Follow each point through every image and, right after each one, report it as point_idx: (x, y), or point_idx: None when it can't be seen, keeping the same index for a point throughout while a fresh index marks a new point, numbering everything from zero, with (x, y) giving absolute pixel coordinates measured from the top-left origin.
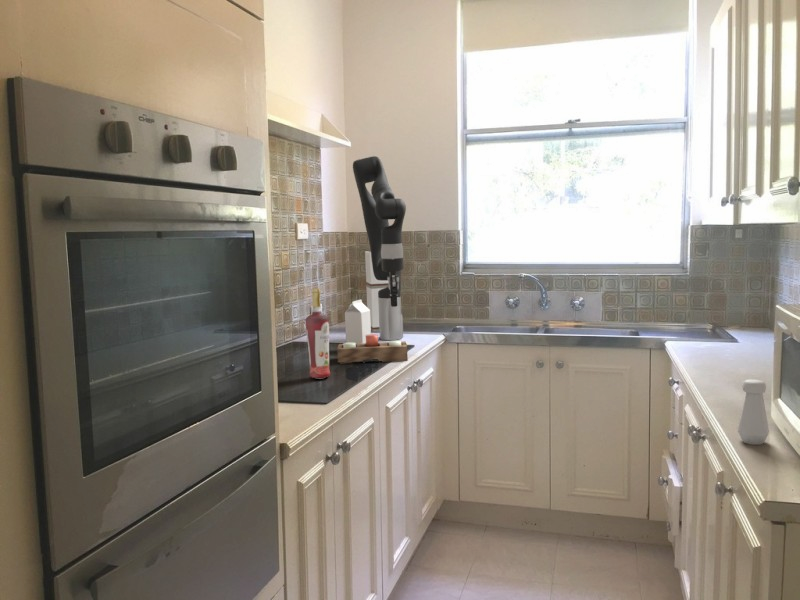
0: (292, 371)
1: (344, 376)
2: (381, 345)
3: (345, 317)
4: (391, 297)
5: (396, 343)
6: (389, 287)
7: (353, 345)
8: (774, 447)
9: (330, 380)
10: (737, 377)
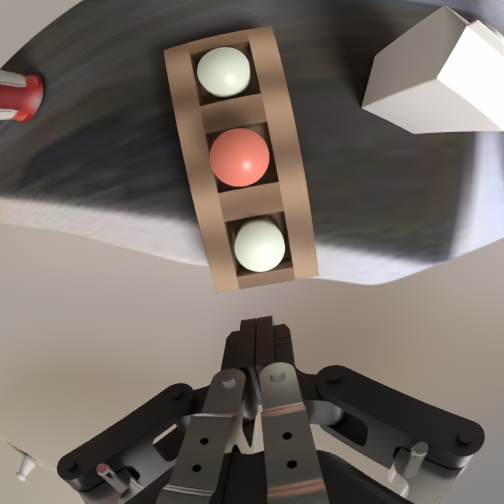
0: (97, 3)
1: (42, 145)
2: (234, 196)
3: (431, 15)
4: (238, 365)
5: (236, 256)
6: (189, 432)
7: (208, 89)
8: None
9: (18, 131)
10: None
